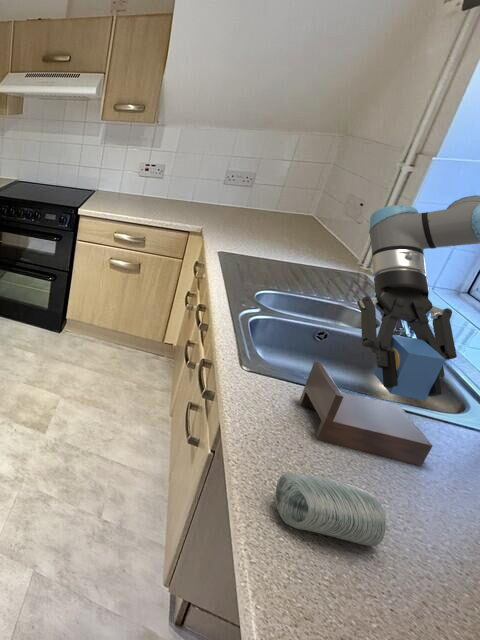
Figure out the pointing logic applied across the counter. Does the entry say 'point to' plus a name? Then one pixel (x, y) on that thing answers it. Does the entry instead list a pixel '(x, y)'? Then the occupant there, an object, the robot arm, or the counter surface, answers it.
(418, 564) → the counter surface
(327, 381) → the shelf
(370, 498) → the spool
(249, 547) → the counter surface
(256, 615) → the counter surface
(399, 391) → the box
